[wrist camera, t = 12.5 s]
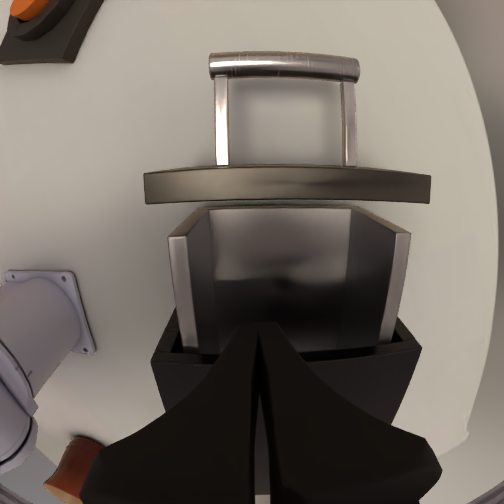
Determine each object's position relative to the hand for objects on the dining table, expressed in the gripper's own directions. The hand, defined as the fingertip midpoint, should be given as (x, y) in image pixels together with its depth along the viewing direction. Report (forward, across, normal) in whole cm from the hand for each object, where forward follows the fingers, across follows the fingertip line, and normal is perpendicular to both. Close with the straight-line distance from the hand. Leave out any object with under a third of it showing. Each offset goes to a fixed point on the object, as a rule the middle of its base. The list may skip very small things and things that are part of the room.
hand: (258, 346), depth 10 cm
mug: (+11, +23, +30) cm, 39 cm away
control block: (+10, +16, -22) cm, 29 cm away
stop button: (+7, +16, -22) cm, 28 cm away
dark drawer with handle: (+9, -2, -2) cm, 10 cm away
